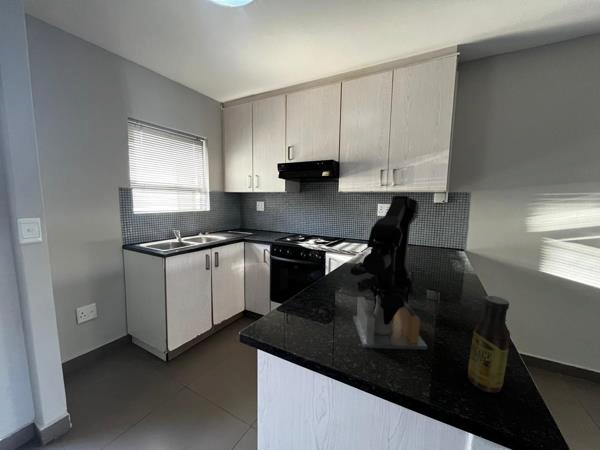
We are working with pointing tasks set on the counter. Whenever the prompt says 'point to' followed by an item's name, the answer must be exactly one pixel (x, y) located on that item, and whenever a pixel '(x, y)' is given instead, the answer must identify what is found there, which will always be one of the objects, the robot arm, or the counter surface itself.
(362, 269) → the multimeter
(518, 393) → the counter surface
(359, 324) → the vise base
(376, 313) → the flask
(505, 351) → the sauce bottle
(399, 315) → the block
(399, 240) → the robot arm
